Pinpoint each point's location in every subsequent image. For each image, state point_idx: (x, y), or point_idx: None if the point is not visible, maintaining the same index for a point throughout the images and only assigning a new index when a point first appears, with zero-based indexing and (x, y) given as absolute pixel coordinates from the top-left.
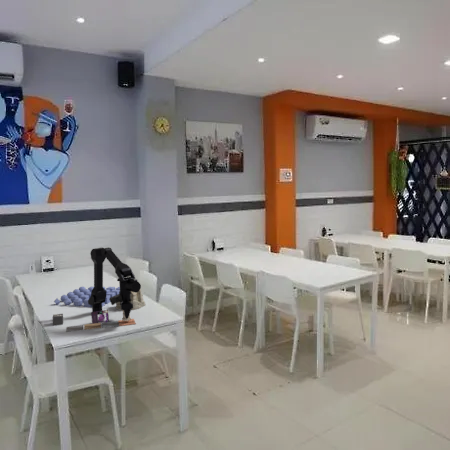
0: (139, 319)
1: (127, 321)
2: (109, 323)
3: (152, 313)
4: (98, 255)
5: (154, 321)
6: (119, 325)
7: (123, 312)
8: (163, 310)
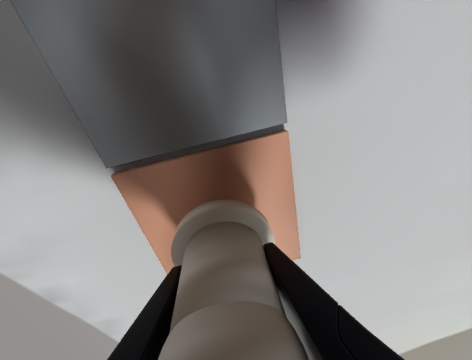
0: None
1: None
2: (185, 18)
3: (378, 319)
4: None
5: None
6: (113, 176)
7: (168, 340)
8: (400, 346)
